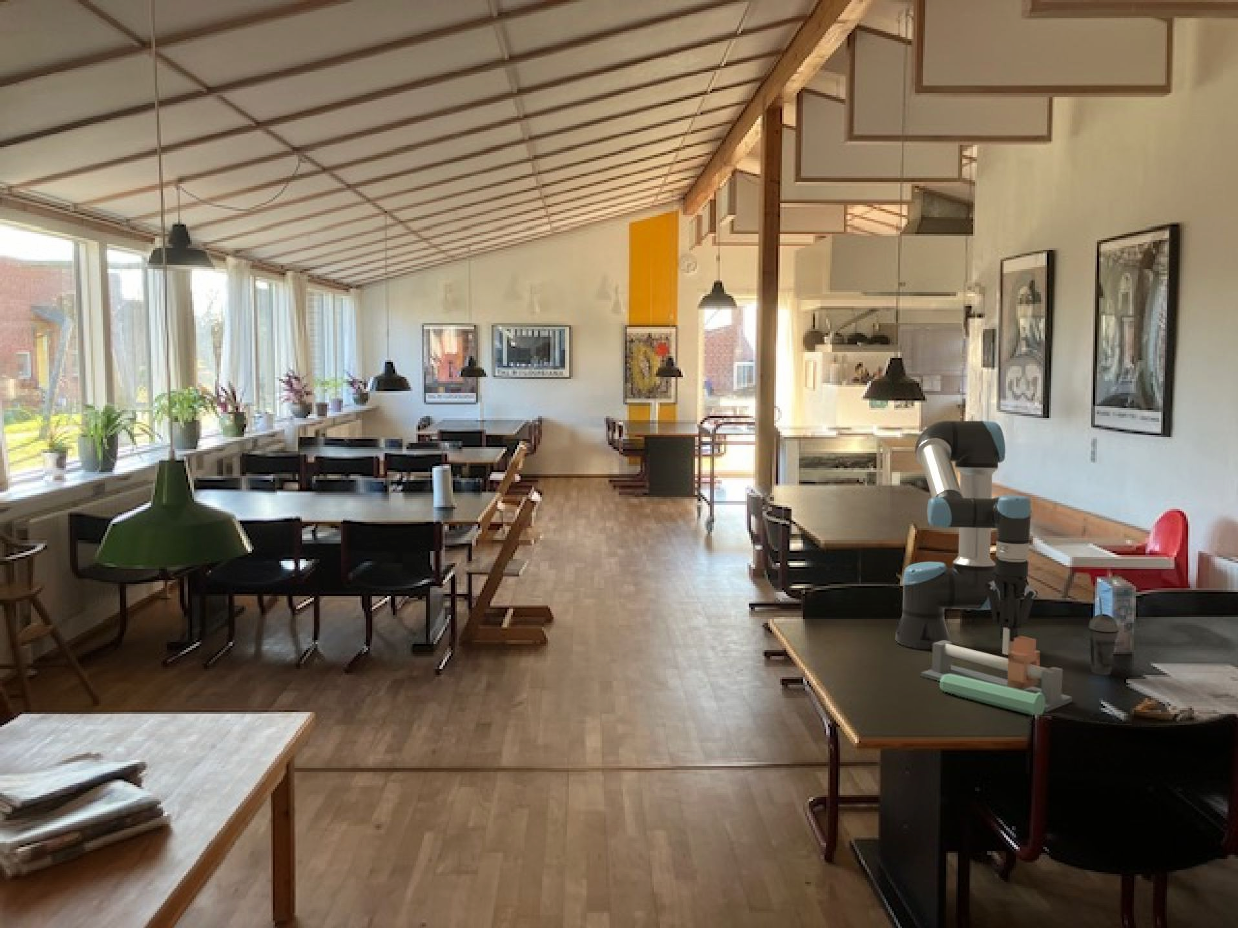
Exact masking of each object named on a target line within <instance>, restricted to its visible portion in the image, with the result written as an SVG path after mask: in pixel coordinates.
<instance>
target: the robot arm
mask: <svg viewBox="0 0 1238 928" xmlns="http://www.w3.org/2000/svg"><path fill="white" fill-rule="evenodd" d="M914 454H915V458H916V459H917V462H918V464H920V465H921V466H922V468H923V472H924V475H925V478H926V481H927V484H928V488H929V493H930V496H931V498H929V499H928V500H927V507H926V508H927V509H926V510H927V513H926V514H927V522H928V524H929V525H930V526H932V527H936V528H937V527H938V528H939V527H940V528H945V529H946V528H958V555H957V557H956V558H955V559H954V560H953V561H952V568H951V567H947V565H946V564H945V563H944V562H941V561H924V562H923V561H921V562H916V563H912V564H910V565H908V566H906V567H905V569H904V573H903V579H902V585H903V586H902V593H903V594H902V614H901V615H902V616H901V618H900V620H899V623H898V625H897V626H898V627H897V629H896V631H895V640H896V641H897V642H896V641H895V642H896V644H898V643H899V644H898V645H900V644H901V645H900V646H903V645H905V646H904V647H906V646H907V647H908V648H911V647H913V649H919V650H933V643H935V642H939V641H942V640H946V641H950V639H951V638H950V637H951V636H950V634H949V631H948V628H947V624H946V620H945V609H949V610H950V609H951V610H952V609H954V610H957V609H958V610H976V611H982V610H983V611H984V610H990V612H991V618H992V621H993V623H995V624H998V625H999V638H1000V640H1002V649H1001V650H1002V652H1001V653H1002V654H1003V655H1007V656H1009V653H1010V652H1013V651H1014V638H1016V637H1019V636H1018V633H1019V632H1018V631H1019V629H1020V628H1023V627H1026V625H1027V623H1028V619H1029V615H1030V612H1031V609H1032V605H1033V602H1034V599H1035V598H1036V596H1037V595H1038V594H1039V593H1038V591H1037V590H1036V589H1035V590H1033V589H1032V588H1031V587H1030V586H1029V585H1030V584H1029V581H1028V575H1029V561H1028V559H1029V558H1030V536H1031V533H1030V532H1031V519H1032V517H1031V515H1032V507H1031V506H1032V504H1031V503H1032V502H1031V499H1030V498H1029V497H1028V496H1026V495H1019V494H1004V495H1000V496H996V497H993V498H992V496H993V494H992V492H993V488H992V487H993V474H994V473H995V472H996V471H998V469H999V464H1001V463H1003V462H1004V460H1005V458H1006V456H1005V455H1006V441H1005V436H1004V433H1003V429H1002V427H1001V426H1000V425H999V424H998V422H995V421H985V420H941V421H937V422H935V423H932V424H931V425H929V426H928V427H926V428H925V429H924V430H923V431H922V432H921V433H920V435H919V436H918V438H917V439H916V443H915V447H914ZM953 462H955V463H954V466H953ZM954 468H955V469H956V470H957V471H958V472H959V475H960V477H959V478H960V480H959V481H960V482H959V481H958V478H957V475H956V472H955V469H954ZM992 529H996V541H995V543H996V545H995V547H996V548H995V549H996V551H995V557H996V559H995V561H993V559H992V558H991V541H992V540H991V532H992ZM1022 595H1024V598H1023V599H1022ZM1021 600H1022V604H1021ZM1020 606H1021V607H1020ZM950 642H951V641H950ZM907 647H906V648H907Z"/></svg>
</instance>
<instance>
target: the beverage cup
mask: <svg viewBox="0 0 1238 928" xmlns="http://www.w3.org/2000/svg"><path fill="white" fill-rule="evenodd" d="M1098 602H1099V613H1098V614H1096V615H1095V616H1093V617H1092V618H1091V619H1090V621H1089V624H1088V627H1087V629H1088V635H1089V646H1090V648H1089V649H1090V651H1089V652H1090V665H1091V673H1093V674H1096V675H1100V676H1101V675H1102V676H1109V675H1110V674H1111V672H1112V668H1113V661H1114V654H1115V650H1116V649H1115V648H1116V643H1117V642H1116V641H1117V638H1118V635H1119V626H1118V623H1117V621H1116V619H1115V618H1113V617H1112V616H1111V615H1110V614H1106V613H1103V605H1102V597H1098Z"/></svg>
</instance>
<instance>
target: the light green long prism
mask: <svg viewBox="0 0 1238 928" xmlns="http://www.w3.org/2000/svg"><path fill="white" fill-rule="evenodd" d="M939 688H940V690H941V691H942V690H943V691H944V692H943V691H942V692H943V693H945V692H948V693H951V694H950V695H952V694H955V695H954V696H956V695H957V697H960V696H961V697H960V698H963V697H964V699H967V698H968V700H971V699H972V700H971V701H974V702H979V703H984V704H987V705H991V706H994V707H998V708H1002V709H1006V710H1011V711H1014V712H1018V713H1022V714H1027V715H1030V716H1032V717H1033V715H1035V714H1042V715H1043V714H1044V713H1045V712H1044V709H1045V697H1044V695H1043V694H1042V693H1039V692H1038V693H1036V694H1035V693H1031V692H1026V691H1022V690H1018V689H1014V688H1009V687H1005V686H1001V685H997V684H992V683H988V682H984V681H980V680H975V679H971V678H967V677H963V676H958V675H954V674H945V675H943V676H942V677H941V679H940V682H939ZM948 693H947V694H948Z"/></svg>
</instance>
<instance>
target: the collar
mask: <svg viewBox="0 0 1238 928" xmlns="http://www.w3.org/2000/svg"><path fill="white" fill-rule="evenodd" d="M1036 647H1037V639H1036V638H1031V637H1028V636H1022V635H1020V636H1017V637H1016V638H1014V651H1013V652H1010V653H1009V655H1007V656H1008V657H1007V658H1008V671H1007V678H1006V680H1007V686H1010V687H1014V688H1017V689H1021V690H1024V689H1026V688H1029V687H1032V686H1033V687H1036V686H1037V685H1039V684H1040V679H1036V678H1032V677H1026V675H1027V663H1030V664H1032V665H1036V666H1040V663H1041V651H1040V650H1037V648H1036ZM1040 667H1041V666H1040Z"/></svg>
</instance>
